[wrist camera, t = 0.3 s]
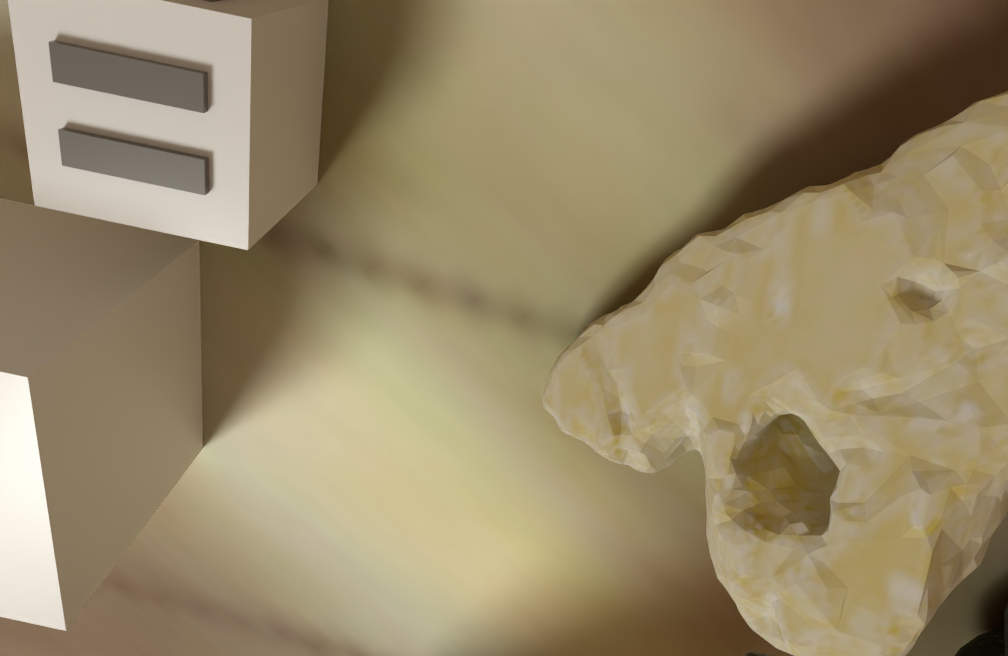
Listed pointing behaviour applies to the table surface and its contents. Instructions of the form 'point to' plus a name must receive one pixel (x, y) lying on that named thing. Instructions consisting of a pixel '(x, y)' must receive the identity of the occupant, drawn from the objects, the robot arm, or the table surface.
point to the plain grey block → (89, 398)
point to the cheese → (828, 389)
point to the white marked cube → (173, 110)
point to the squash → (988, 643)
